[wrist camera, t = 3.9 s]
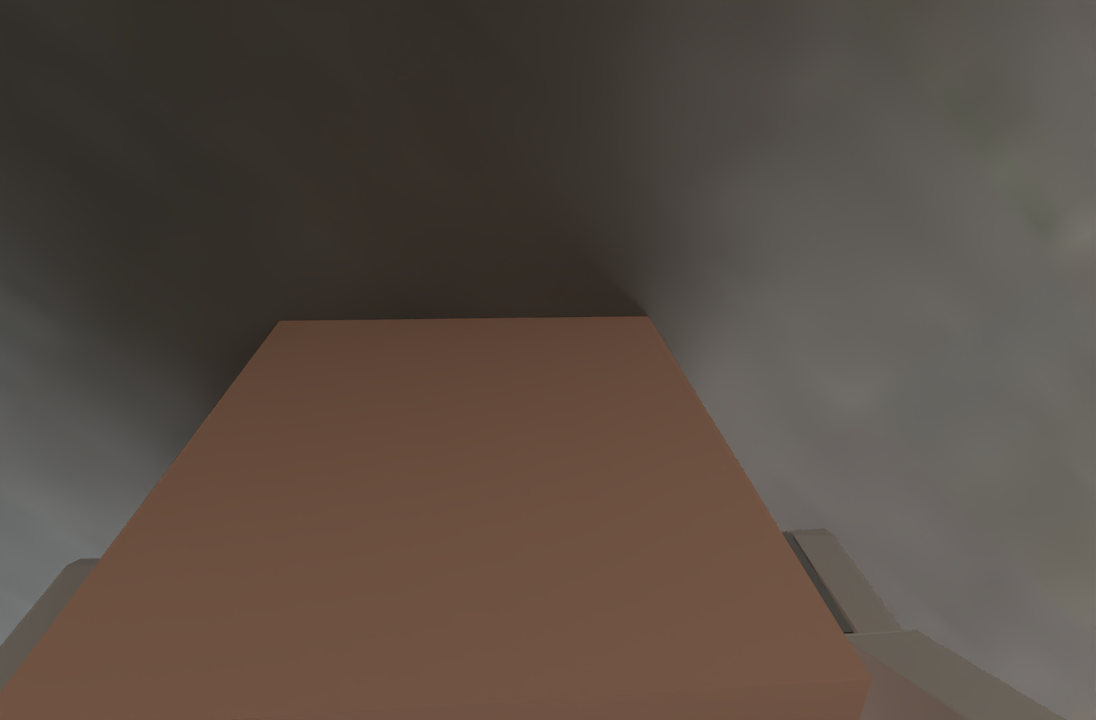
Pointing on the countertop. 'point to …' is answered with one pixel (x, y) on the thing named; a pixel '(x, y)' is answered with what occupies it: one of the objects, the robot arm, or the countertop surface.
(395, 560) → the terracotta block
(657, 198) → the countertop surface
